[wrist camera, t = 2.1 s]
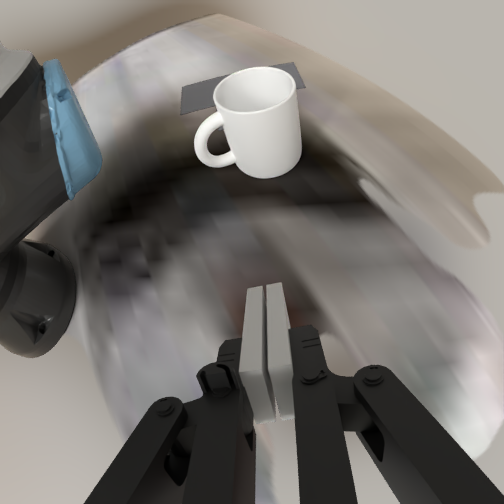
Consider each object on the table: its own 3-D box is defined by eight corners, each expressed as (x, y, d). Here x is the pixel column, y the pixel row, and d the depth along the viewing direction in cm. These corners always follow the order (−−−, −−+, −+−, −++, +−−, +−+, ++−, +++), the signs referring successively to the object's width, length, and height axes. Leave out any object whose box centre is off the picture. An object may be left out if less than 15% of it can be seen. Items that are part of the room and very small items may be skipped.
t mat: (181, 143, 43) (179, 140, 42) (182, 89, 49) (182, 87, 49) (316, 113, 41) (316, 111, 40) (293, 64, 47) (293, 62, 47)
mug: (222, 207, 36) (193, 143, 27) (198, 161, 40) (169, 100, 31) (315, 162, 37) (312, 92, 27) (281, 123, 40) (270, 58, 31)
